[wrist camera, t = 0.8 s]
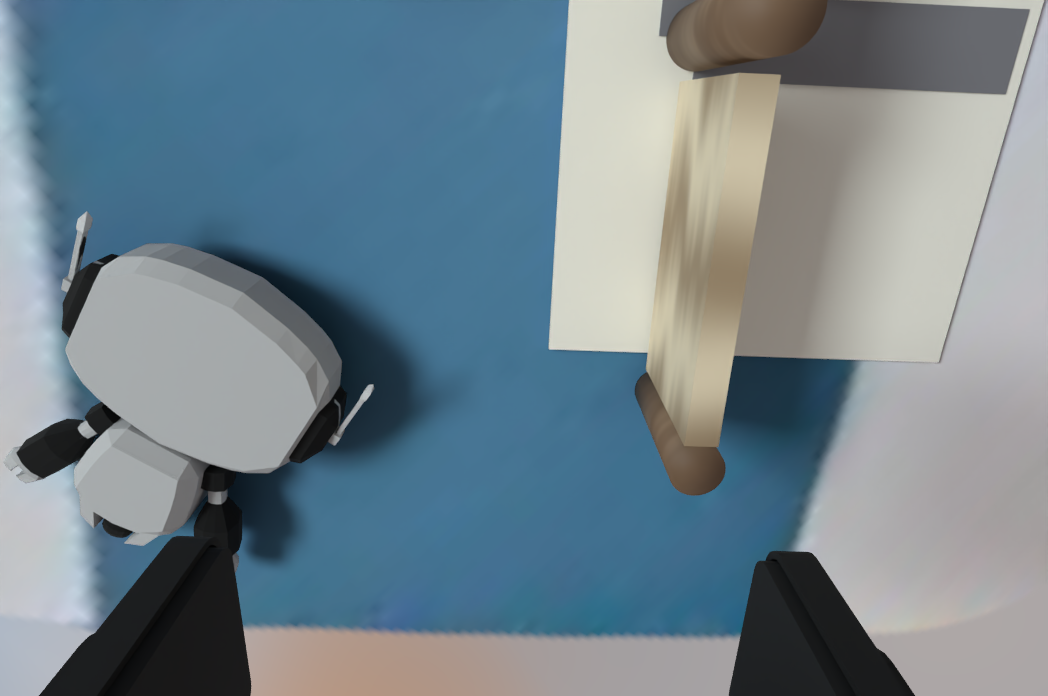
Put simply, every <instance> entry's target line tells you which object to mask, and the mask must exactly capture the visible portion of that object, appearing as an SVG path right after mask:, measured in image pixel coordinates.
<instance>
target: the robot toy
mask: <svg viewBox="0 0 1048 696" xmlns="http://www.w3.org/2000/svg"><path fill="white" fill-rule="evenodd" d="M92 220H93V218H92V217H91V216H90V214H89V213H88V212H86V213H85V214H83V215H82V216H81V217H80V218H79V219H78V221H77V226H76V229H77V230H78V232H77V237H76V242H75V246H74V251H73V256H72V261H71V266H70V271H69V275H68V276H67V277H65V278H64V279H63V283H62V288H61V289H62V290H63V291H65V292H67V294H66V297H65V299H64V302H63V321H62V330H63V331H64V333H65V334H66V335H67V336H68V337H69V338H70V339H69V341H68V344H67V346H66V349H65V350H66V353H67V356H68V359H69V361H70V364H71V366H72V367H73V369H74V371H75V372H76V374H77V375H78V377H79V378H80V380H81V381H82V383H83V384H84V385H85V386H86V387H87V388H88V389H89V390H90V391H91V392H92V393H93V394H94V395H95V396H96V397H97V398H98V399H99V400H100V401H102V402H100V403H99V404H97V405H95V406H94V407H92V408H91V409H90V410H89V412H88V413H87V415H86V416H85V419H86V421H83V420H76V419H66V420H63V421H60V422H58V423H55V424H53V425H51V426H49V427H47V428H46V429H44V430H42V431H41V432H39V433H37V434H36V435H34V436H32V437H31V438H29V439H27V440H26V441H25V442H24V443H23V445H22V446H21V447H15V448H13V449H12V450H11V451H10V453H9V454H8V455H7V456H6V458H5V461H4V464H5V465H6V467H7V468H8V469H9V470H10V471H12V469H13V468H15V467H17V466H19V467H20V468H21V469H22V471H21V472H20V473H19V474H18V475H16V476H17V477H18V478H19V479H20V480H21V481H23V482H24V483H29V482H33V481H37V480H41V479H44V478H46V477H47V476H49V475H51V474H53V473H55V472H58V471H59V470H61V469H63V468H65V467H66V466H68V465H70V464H72V463H73V462H75V461H77V460H79V459H80V458H82V459H81V460H80V461H79V463H78V464H77V466H76V467H75V468H74V485H75V487H76V489H77V491H78V493H79V495H80V515H81V516H82V517H83V518H84V519H85V520H86V521H87V522H88V523H89V524H90V525H91V526H92V527H93V528H94V527H95V526H96V525H97V524H98V523H99V522H100V521H101V520H102V519H103V518H104V520H103V523H102V524H103V528H104V530H105V531H106V532H107V533H108V534H110V535H111V536H114V537H120V538H123V537H127V536H128V535H130V534H131V533H132V532H134V533H133V534H132V535H131V536H130V537H129V538H128V539H127V541H126V542H125V543H126V544H134V545H141V546H143V545H145V544H146V543H148V542H150V541H151V540H153V539H154V538H156V537H157V536H159V535H165V534H171V533H173V532H174V531H176V530H177V529H179V528H180V527H181V526H183V525H184V524H185V523H186V521H187V520H188V519H189V517H190V516H191V515H192V514H193V512H194V511H195V510H196V508H197V507H198V506H199V505H200V503H201V502H202V501H203V500H204V498H205V497H206V496H207V494H208V501H207V502H206V504H205V505H204V507H203V508H202V510H201V512H200V513H199V515H198V517H197V520H196V522H195V525H194V537H215V538H217V539H218V540H219V541H220V544H221V547H222V548H229V549H230V550H231V552H232V556H233V563H234V570H235V572H236V570H237V567H238V564H239V556H238V555H237V553H236V552H237V551H238V550H239V548H240V544H241V540H242V511H241V509H240V508H239V507H238V506H237V505H236V504H235V503H234V502H233V501H232V500H231V499H230V498H229V497H228V496H227V489H228V488H229V487H231V486H232V485H233V484H234V481H235V478H236V471H238V472H243V473H270V472H272V471H274V470H276V469H277V468H279V467H281V466H283V465H284V464H286V463H288V462H290V461H292V462H297V463H302V462H304V461H305V460H307V459H309V458H310V457H312V456H313V455H315V454H317V453H318V452H320V451H322V449H323V448H324V446H325V445H326V444H327V442H329V443H331V444H333V445H334V446H335V445H336V444H337V442H338V441H339V439H340V438H341V436H342V435H343V433H344V431H345V427H346V426H347V425H348V423H349V422H350V420H351V419H352V418H353V416H354V415H355V414H356V412H357V411H358V409H359V408H360V407H361V405H362V404H363V402H364V401H366V400H367V399H368V397H369V396H370V395H371V393H372V391H373V389H374V385H373V384H371V385H368V386H367V388H366V389H365V390H364V392H363V393H362V395H361V397H360V399H359V401H358V402H357V403H356V405H355V406H354V408H353V409H352V410H351V412H350V413H349V415H348V416H347V417H346V419H345V420H344V422H343V423H342V424H341V426H339V424H340V422H341V420H342V419H343V416H344V410H345V403H346V396H347V393H346V392H345V391H344V390H343V388H342V387H341V386H340V379H341V368H342V360H341V358H340V357H339V355H338V353H337V351H336V349H335V347H334V345H333V343H332V341H331V339H330V338H329V337H328V336H327V334H326V333H325V332H324V331H323V329H322V328H321V327H320V326H319V325H318V324H317V323H316V322H315V321H314V320H313V319H312V318H311V317H310V316H309V315H308V314H307V313H306V312H305V311H304V310H302V309H301V308H300V307H299V306H297V305H296V304H295V303H294V302H293V301H291V300H290V299H289V298H288V297H286V296H285V295H284V294H283V293H281V292H280V291H279V290H278V289H277V288H275V287H274V286H273V285H272V284H270V283H269V282H268V281H267V280H265V279H264V278H263V277H261V276H258V275H256V274H254V273H252V272H250V271H247V270H245V269H243V268H241V267H239V266H236V265H234V264H232V263H230V262H227V261H225V260H223V259H221V258H219V257H216V256H214V255H211V254H208V253H205V252H202V251H199V250H196V249H193V248H190V247H187V246H182V245H177V244H145V245H143V246H141V247H139V248H136V249H134V250H132V251H130V252H128V253H126V254H123V255H121V256H118V255H114V254H111V255H108V256H106V257H104V258H102V259H99V260H97V261H95V262H93V263H90V264H89V265H88V266H86V267H85V268H83V269H82V270H81V271H79V270H80V266H81V261H82V257H83V252H84V247H85V243H86V238H87V234H88V230H89V229H90V228H91V225H92ZM96 434H99V435H101V436H100V437H99V438H98V439H97V440H96V441H95V442H94V443H93V441H94V438H95V435H96ZM92 443H93V444H92ZM91 445H92V446H91Z"/></svg>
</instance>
